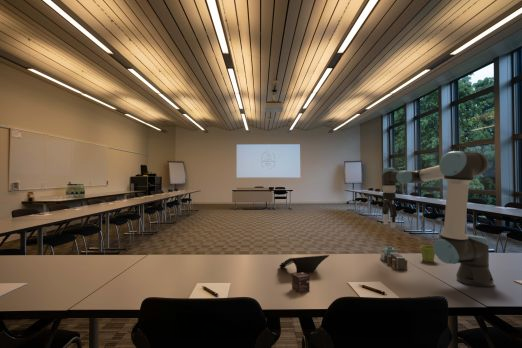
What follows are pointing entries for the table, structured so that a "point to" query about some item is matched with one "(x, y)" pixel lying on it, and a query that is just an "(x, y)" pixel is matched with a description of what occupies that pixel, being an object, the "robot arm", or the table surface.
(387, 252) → the connector
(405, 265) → the clip
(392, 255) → the cable bar
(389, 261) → the clip
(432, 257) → the plant pot
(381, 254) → the end holder
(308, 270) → the portable electronic device stand
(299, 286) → the box
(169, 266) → the table surface
